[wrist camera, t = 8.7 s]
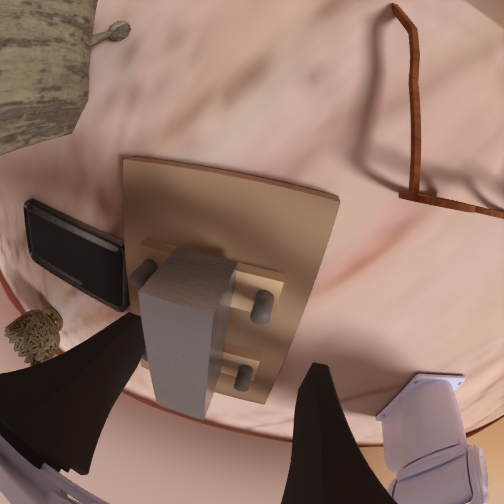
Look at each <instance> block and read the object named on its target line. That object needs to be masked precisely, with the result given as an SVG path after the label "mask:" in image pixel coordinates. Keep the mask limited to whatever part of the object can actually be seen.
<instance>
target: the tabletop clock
mask: <svg viewBox="0 0 504 504" xmlns="http://www.w3.org/2000/svg"><path fill="white" fill-rule="evenodd" d="M97 1H98V0H0V155H2V154H5V153H8V152H11V151H14V150H17V149H20V148H23V147H26V146H29V145H32V144H35V143H39V142H42V141H46V140H49V139H53V138H57V137H61V136H65V135H69V134H72V132H73V130H74V128H75V126H76V123H77V121H78V119H79V117H80V115H81V113H82V111H83V109H84V107H85V105H86V103H87V101H88V85H89V63H90V51H91V46H93V45H95V44H97V43H99V42H101V41H103V40H105V39H107V38H110V39H112V40H113V41H120V40H122V39H124V38H125V37H127V36H128V35H129V32H130V30H131V29H130V25H129V24H128V23H127V22H126V21H117V22H115V23H114V24H113V25H111V26H110V28H109V30H108V31H107V32H102V33H99V34H95V35H92V32H93V25H94V18H95V12H96V6H97Z"/></svg>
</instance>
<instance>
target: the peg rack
mask: <svg viewBox="0 0 504 504" xmlns="http://www.w3.org/2000/svg"><path fill="white" fill-rule="evenodd" d="M339 205H340V200H339V197H338V196H335V195H332V194H328V193H324V192H320V191H317V190H313V189H309V188H305V187H301V186H297V185H292V184H288V183H284V182H280V181H275V180H271V179H266V178H261V177H257V176H252V175H247V174H242V173H237V172H232V171H226V170H221V169H216V168H210V167H204V166H198V165H192V164H185V163H179V162H172V161H165V160H158V159H150V158H142V157H130V158H127V159H124V160H123V227H124V245H125V258H126V270H127V279H128V288H129V296H130V304H131V311H132V313H133V314H136V315H138V316H141V311H140V303H139V294H138V291H139V290H140V289H141V287H142V286H143V285H144V284H145V283H146V282H147V281H148V279H149V278H150V277H151V276H152V275H153V274H154V273H155V271H156V270H157V269H158V268H159V267H160V266H161V265H162V264H163V262H164V261H165V260H166V259H167V258H168V257H169V256H170V255H171V254H172V252H173V251H174V250H175V249H176V248H177V247H181V248H185V249H189V250H192V251H196V252H200V253H204V254H208V255H212V256H216V257H220V258H224V259H228V260H232V261H236V262H238V265H237V271H236V277H235V284H234V290H233V296H232V302H231V308H230V314H229V320H228V327H227V333H226V339H225V346H224V352H223V358H222V365H221V371H220V376H219V379H218V382H217V385H216V387H215V390H214V392H216V393H220V394H223V395H227V396H231V397H235V398H238V399H242V400H247V401H251V402H255V403H260V404H264V405H265V402H266V400H267V398H268V396H269V394H270V392H271V389H272V387H273V385H274V383H275V380H276V378H277V376H278V373H279V371H280V369H281V367H282V364H283V362H284V359H285V357H286V355H287V352H288V350H289V347H290V345H291V343H292V340H293V338H294V335H295V333H296V330H297V327H298V325H299V322H300V320H301V317H302V315H303V312H304V309H305V307H306V304H307V301H308V299H309V296H310V293H311V290H312V288H313V285H314V282H315V279H316V276H317V273H318V271H319V268H320V265H321V262H322V259H323V256H324V253H325V250H326V247H327V244H328V241H329V238H330V234H331V231H332V228H333V225H334V222H335V218H336V215H337V212H338V208H339ZM141 320H142V319H141ZM140 361H141V365H142V367H144V368H146V369H149V363H148V358H147V352H146V349H145V351H144V353H143V355H142V358H141V360H140ZM149 370H150V369H149Z"/></svg>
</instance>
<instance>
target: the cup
mask: <svg viewBox="0 0 504 504" xmlns="http://www.w3.org/2000/svg"><path fill="white" fill-rule="evenodd" d="M62 327H63V321H62V319H61V317H60V315H59V314H58V313H57V312H56V311H55V310H54V309H53V308H51V307H47V308H44V310H43V312H42V311H40V310H30V311H28V312H26V313H24V314H23V315H21V316H20V317H19V318H17V319H16V320H15V321H13V322H12V323H11V324H9V325H8V326H7V327H6V329H5V330H4V332H6V333H5V336H6V337H8V338H10V341H9V343H15V345H14V351H19V352H18V353H19V354H18V356H19V357H24V356H26V359H25V361H24V362H25V363H29V362H30V364H31V366H34V365H36V364H39V363H42V362H45V361H47V360H50V359H52V358H53V356H54V355H55V353H56V351H57V349H58V347H59V343H60V335H59V331H60V330H62Z"/></svg>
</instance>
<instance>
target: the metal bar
mask: <svg viewBox="0 0 504 504" xmlns="http://www.w3.org/2000/svg"><path fill="white" fill-rule="evenodd" d="M237 265H238V262H236V261H232V260H228V259H224V258H220V257H216V256H212V255H208V254H204V253H200V252H196V251H192V250H189V249H185V248H181V247H177V248H176V249H175V250H174V251H173V252H172V254H171V255H170V256H169V257H168V258H167V259H166V260H165V261H164V262H163V264H162V265H161V266H160V267H159V268H158V269H157V270H156V271H155V273H154V274H153V275H152V276H151V277H150V278H149V279H148V281H147V282H146V283H145V284H144V285H143V286H142V287H141V289H140V290H139V291H138V294H139V303H140V311H141V319H142V326H143V333H144V339H145V345H146V352H147V358H148V363H149V369H150V374H151V379H152V384H153V388H154V393H155V397H156V401H157V404H158V405H161V406H164V407H166V408H169V409H172V410H174V411H177V412H180V413H183V414H186V415H189V416H192V417H195V418H198V419H201V420H204V419H205V416H206V413H207V410H208V407H209V404H210V402H211V399H212V396H213V393H214V390H215V387H216V385H217V382H218V379H219V376H220V371H221V365H222V358H223V352H224V346H225V339H226V333H227V327H228V320H229V314H230V308H231V302H232V296H233V290H234V284H235V277H236V271H237Z"/></svg>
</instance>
